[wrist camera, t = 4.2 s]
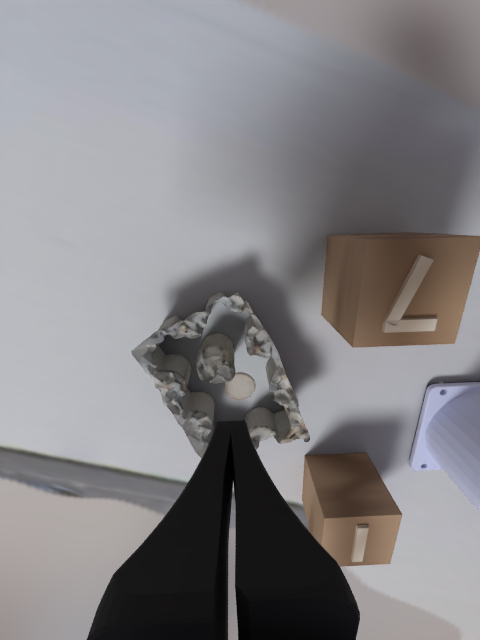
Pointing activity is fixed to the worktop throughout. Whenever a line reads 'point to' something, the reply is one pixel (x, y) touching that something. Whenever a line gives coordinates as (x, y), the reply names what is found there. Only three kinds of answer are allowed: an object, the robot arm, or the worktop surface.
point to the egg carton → (220, 377)
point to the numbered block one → (350, 508)
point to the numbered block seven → (398, 287)
